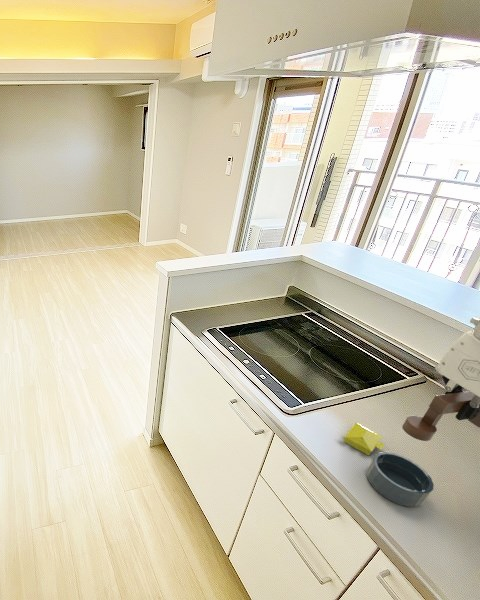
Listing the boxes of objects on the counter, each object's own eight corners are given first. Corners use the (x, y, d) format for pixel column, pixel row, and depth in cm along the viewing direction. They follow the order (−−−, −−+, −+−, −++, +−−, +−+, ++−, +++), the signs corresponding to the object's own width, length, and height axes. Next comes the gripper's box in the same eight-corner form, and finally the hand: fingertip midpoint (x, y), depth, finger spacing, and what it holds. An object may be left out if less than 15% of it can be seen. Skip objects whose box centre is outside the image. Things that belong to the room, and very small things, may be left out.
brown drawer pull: (417, 442, 65) (439, 410, 61) (396, 425, 69) (415, 393, 65) (492, 431, 67) (518, 398, 63) (467, 414, 71) (490, 383, 67)
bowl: (391, 463, 77) (400, 449, 75) (435, 504, 68) (447, 489, 66) (354, 469, 76) (362, 455, 74) (394, 511, 67) (405, 497, 65)
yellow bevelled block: (349, 420, 88) (353, 413, 87) (392, 443, 81) (397, 436, 80) (333, 440, 83) (337, 432, 82) (379, 466, 76) (384, 458, 75)
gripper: (438, 316, 64) (399, 387, 73) (552, 368, 50) (487, 449, 59) (471, 312, 65) (429, 383, 74) (593, 363, 51) (523, 443, 59)
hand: (455, 412), depth 66 cm, fingers closed on brown drawer pull, 2 cm apart
